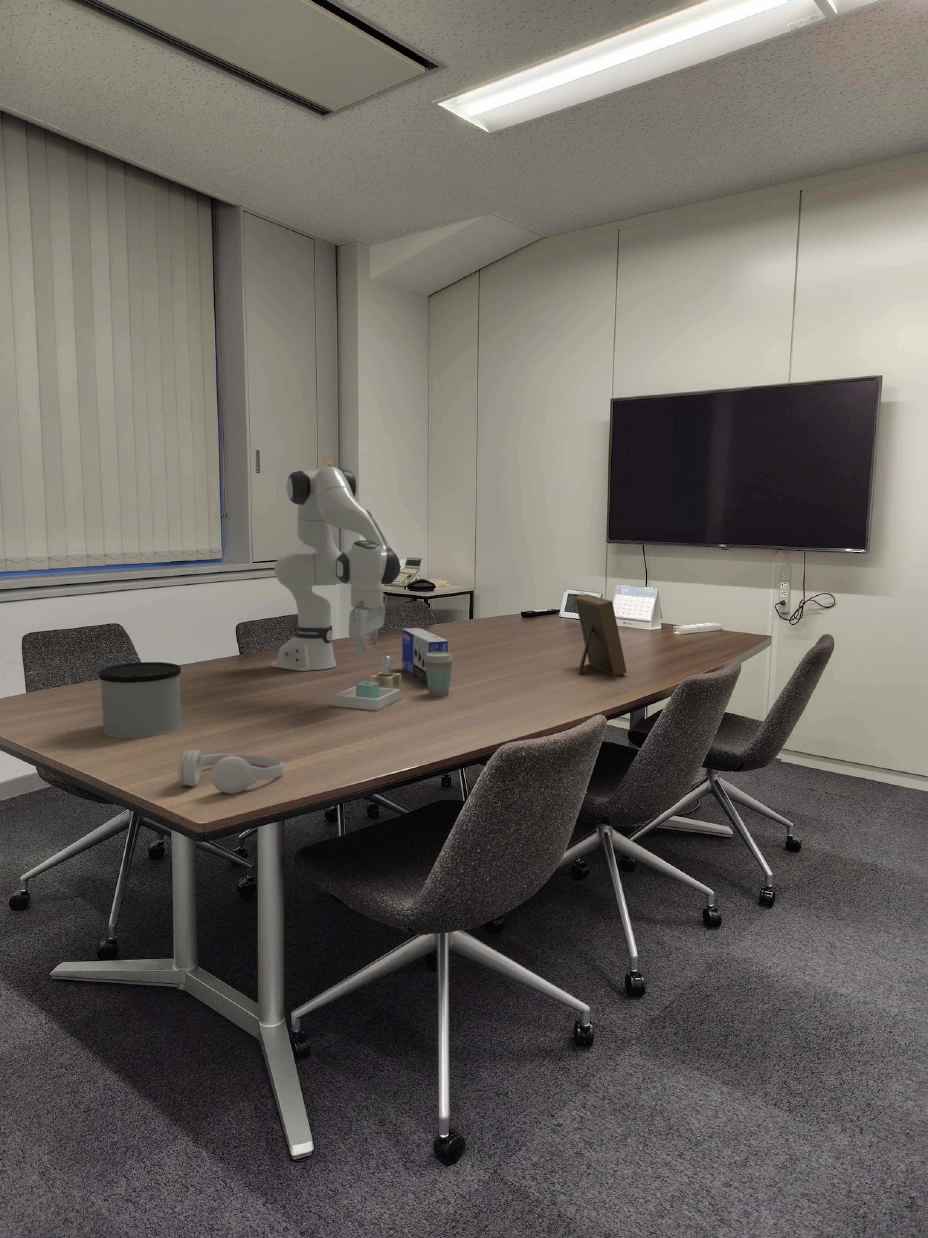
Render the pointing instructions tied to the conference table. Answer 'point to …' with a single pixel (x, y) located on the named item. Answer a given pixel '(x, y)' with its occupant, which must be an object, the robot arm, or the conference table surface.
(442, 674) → the coffee cup
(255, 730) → the conference table surface
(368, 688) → the teal cube
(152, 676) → the container
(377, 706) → the tray
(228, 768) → the headphones
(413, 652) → the ink box
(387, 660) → the cylinder
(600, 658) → the photo frame
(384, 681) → the beech block
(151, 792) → the conference table surface
